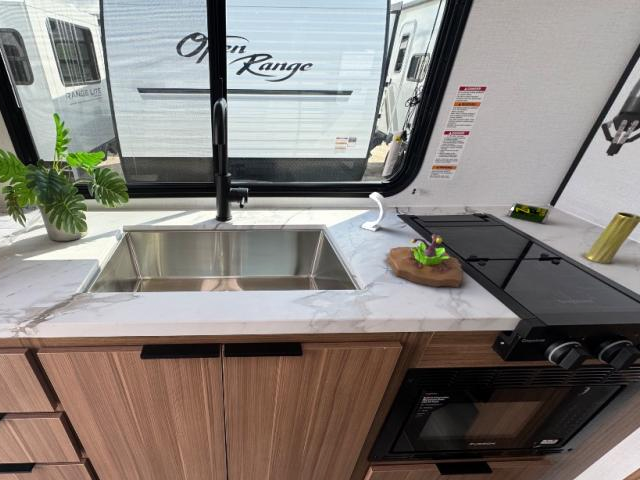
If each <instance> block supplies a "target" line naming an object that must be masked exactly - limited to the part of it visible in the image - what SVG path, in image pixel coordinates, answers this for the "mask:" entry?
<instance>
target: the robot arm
mask: <svg viewBox="0 0 640 480" xmlns="http://www.w3.org/2000/svg"><path fill="white" fill-rule="evenodd" d="M612 124H613V127H614V130H615V131H616V133H615V134H614V136H612V134H611V132H610V129H611V128H612ZM600 127H601V130H602V133H603V135H604V138H605V141H606V142H610V145H609V146H608V148H607V150H606V152H605V154H607V157H614V155H618V154H619V152H620V151H621V149H622V147H623V146H624V145H625V144H628V143H633V142H635V141H636V140H638V139H640V132H638V133H636V134H634V135H633V136H631V134H632V133H634V132H636V131H638V130H639V129H640V78H639V79H637V81H636V83H635V84H634V86H633V87H632V88H631V91H630V92H629V93H628V96H627V97H626V99H625V100H624V103H623V104H622V106H621V108H620V109H619V112H618V113H617V114H616V115H615V116H614V117H613V118H612V119H611V120H609V121H606V122H603V123H601V126H600ZM623 132H624V134H623ZM622 134H623V135H622ZM621 135H622V136H621ZM630 136H631V137H630ZM619 139H620V140H619Z"/></svg>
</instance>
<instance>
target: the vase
mask: <svg viewBox="0 0 640 480" xmlns="http://www.w3.org/2000/svg"><path fill="white" fill-rule="evenodd" d="M638 224H640V215H637V214H635V213H630V212H623V211H618V212H617V213H616V214H615V215H614V216H613V218H612V219H611V221H610V222H609V223H608V225H606V227H605V228H604V230H603V231H602V232H601V234H600V235H599V237H598V238H597V239H596V240H595V242H593V244H592V245H591V246H590V248H589V249H588V251H587V252H586V253H585V254H584V257H585V258H586V259H587V260H590V261H592V262H595V263H599V264H610V263H611V262H612V261H613V259H614V257H615V256H616V254H617V253H618V252H619V250H620V249H621V247H622V245H623V244H624V243H625V241H626V240H627V239H628V238H629V236H630V235H631V234H632V232H633V231H634V230H635V229H636V227H638Z"/></svg>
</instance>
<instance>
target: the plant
mask: <svg viewBox="0 0 640 480" xmlns="http://www.w3.org/2000/svg"><path fill="white" fill-rule="evenodd" d="M431 239H432V241H431V244H429V243H428V242H427V241H426V240H425V239H423V238H417V237H415V238H414V237H413V238H412V239H411V241H410V243H412V244H416V243H417V242H419V245H416V246H398V247H397V246H396V247H393V248H392V247H391V248H390V251H389V254H388V256H387V259H386V262H387V263H388V265H389V266H390V268H391V269H392V271H393V273H394V275H395V276H396V277H398V278H402V279H404V280H408V281H410V282H412V283H415V284H418V285H423V286H429V287H434V288H438V287H451V288H452V287H453V288H459V286H460V285H461V283H462V281H463V267H462V266H463V264H461V263H460V262H459V259H457V258H455V257H453V256H451V255H450V254H449V253H448V252H446V248H445V247H438V248H436V247H437V246H436V245H437V244H441V243H442V242H443V238H442V236H441V235H440V234H439V235H437V234H436V233H433V234H432V235H431ZM457 284H459V285H457Z"/></svg>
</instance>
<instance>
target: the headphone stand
mask: <svg viewBox="0 0 640 480" xmlns="http://www.w3.org/2000/svg"><path fill="white" fill-rule="evenodd" d="M368 196H369V197H368V198H370V199H372V200H374V201H375V202H376V203H377V205H378V207H379V216H378V218H377V219H376V221H366V222H365V223H363V224H362V225H361V228H362V229H365V230H369V231H373V232H375V231H378V229H380V227H381V225H380V224H379V223H381V221H383V220H384V219H385V217H386V215H387V213H388V203H387V200H386V198H385V197H384V196H383V195H382V194H380V193H379V192H376V191H374V192H372V193H371V194H369V195H368Z"/></svg>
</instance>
